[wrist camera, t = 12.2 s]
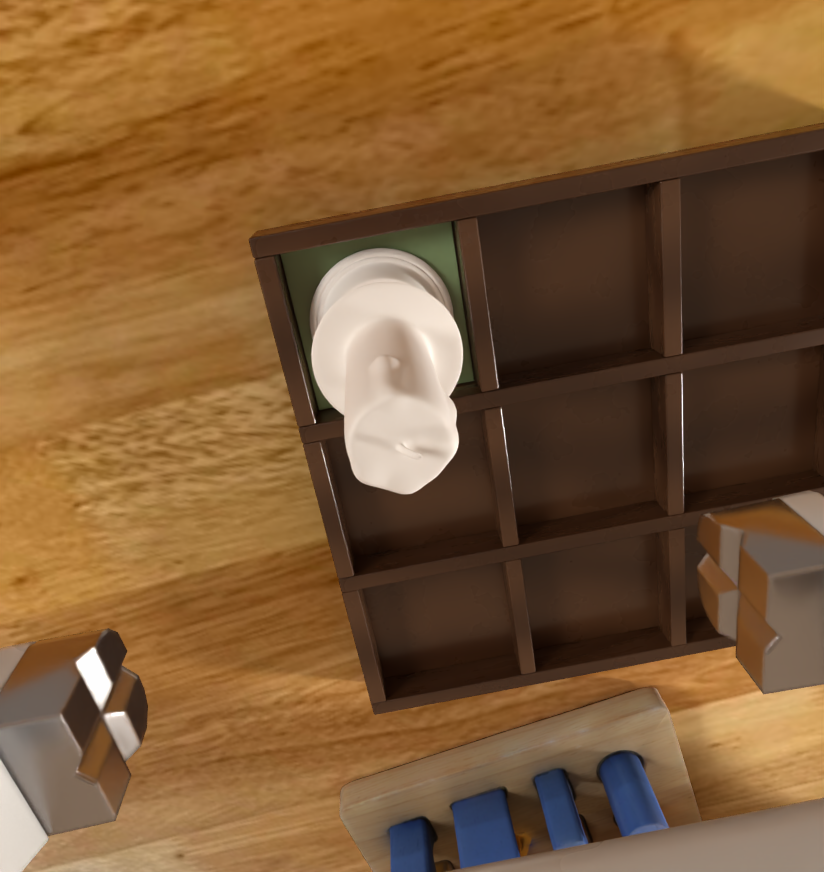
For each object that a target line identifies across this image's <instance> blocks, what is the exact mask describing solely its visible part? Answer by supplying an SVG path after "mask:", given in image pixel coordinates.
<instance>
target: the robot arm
mask: <svg viewBox="0 0 824 872" xmlns="http://www.w3.org/2000/svg"><path fill="white" fill-rule="evenodd" d="M697 541H698V542H699V543H700V545H701V546H702V547H703V548H704V549H705V551H706V552H707V553H706V554H705V556H704V557H703V559H702V560H701V561H700V563H699V564H698V566H697V587H698V591H699V595H700V598H701V602H702V606H703V608H704V610H705V612H706V614H707V616H708V618H709V620H710V622H711V623H712V625H713V626H714V627H715V629H716V630H717V632H718V633H719V634H721V635H723V636H725V637H728V638H730V639H732V640H734V641H736V658H737V659H738V660H739V662H740V663H741V665H742V666H743V667H744V669H745V670H746V671H747V673H748V674H749V675H750V677H751V678H752V679H753V681H754V682H755V683H756V685H757V686H758V687H759V689H760V690H761V691H762V693H763V694H768V693H774V692H780V691H786V690H792V689H798V688H804V687H810V686H816V685H822V684H824V496H823V495H821V494H820V493H818V492H814V491H810V490H808V491H803V492H799V493H794V494H790V495H785V496H781V497H777V498H773V499H772V500H767V501H762V502H758V503H753V504H748V505H743V506H738V507H733V508H728V509H724V510H719V511H714V512H709V513H704V514H700V517H699V520H698V523H697ZM126 653H127V650H126V648H125V646H124V644H123V642H122V640H121V638H120V636H119V634H118V632H116V631H113V630H111V629H109V628H108V629H102V630H97V631H91V632H85V633H79V634H73V635H68V636H62V637H56V638H50V639H44V640H39V641H37V642H28V643H23V644H18V645H12V646H7V647H3V648H1V649H0V872H22V871H23V870H24V868H25V867H26V866H27V865H28V864H29V863H30V861H31V860H32V859H33V858H34V857H35V855H36V854H37V853H38V852H39V851H40V850H41V848H42V847H43V846H44V845H45V844H46V842H47V841H48V840H49V838H48V836H50V835H54V834H59V833H63V832H68V831H72V830H77V829H81V828H85V827H90V826H94V825H99V824H103V823H108V822H112V821H115V820H116V817H117V815H118V812H119V809H120V806H121V803H122V800H123V797H124V794H125V791H126V788H127V786H128V783H129V780H130V777H131V773H130V771H129V769H128V767H127V765H126V763H125V762H126V761H127V760H128V759H129V758H130V757H131V756H132V755H133V753H134V752H135V751H136V750H137V749H138V748H139V747H140V746H141V744H142V741H143V738H144V735H145V732H146V728H147V711H148V705H147V700H146V695H145V690H144V687H143V685H142V683H141V680H140V678H139V676H138V675H137V674H135V673H134V672H132V671H130V670H129V669H127V668H125V667H124V666H122V663H123V660H124V658H125V655H126ZM446 872H824V798H820V799H815V800H810V801H805V802H800V803H794V804H789V805H784V806H779V807H774V808H769V809H764V810H759V811H753V812H748V813H743V814H738V815H733V816H728V817H723V818H718V819H712V820H707V821H702V822H697V823H692V824H687V825H682V826H677V827H671V828H666V829H661V830H656V831H651V832H646V833H641V834H636V835H630V836H625V837H620V838H615V839H610V840H605V841H600V842H595V843H589V844H584V845H579V846H574V847H569V848H564V849H559V850H554V851H548V852H543V853H538V854H533V855H528V856H523V857H518V858H513V859H508V860H503V861H497V862H492V863H487V864H482V865H477V866H472V867H467V868H462V869H457V870H452V871H446Z"/></svg>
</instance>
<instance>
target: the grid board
mask: <svg viewBox="0 0 824 872" xmlns="http://www.w3.org/2000/svg"><path fill="white" fill-rule="evenodd" d="M249 243H250V247H251V251H252V255H253V257H254V258H255V260H254V262H255V266H256V270H257V274H258V277H259V281H260V285H261V289H262V293H263V296H264V300H265V304H266V308H267V311H268V315H269V319H270V323H271V327H272V330H273V334H274V338H275V342H276V345H277V349H278V353H279V357H280V361H281V364H282V368H283V372H284V376H285V379H286V383H287V387H288V391H289V394H290V398H291V402H292V406H293V410H294V413H295V417H296V421H297V425H298V426H299V432H300V436H301V440H302V443H303V447H304V451H305V455H306V459H307V462H308V466H309V470H310V474H311V478H312V481H313V485H314V489H315V493H316V496H317V500H318V504H319V508H320V512H321V515H322V519H323V523H324V527H325V530H326V534H327V538H328V542H329V546H330V549H331V553H332V557H333V561H334V564H335V568H336V572H337V576H338V578H339V584H340V587H341V591H342V595H343V599H344V603H345V607H346V610H347V614H348V618H349V622H350V625H351V629H352V633H353V637H354V640H355V644H356V648H357V652H358V656H359V659H360V663H361V667H362V671H363V674H364V678H365V682H366V686H367V690H368V693H369V697H370V701H371V704H372V708H373V712H374V714H375V715H376V714H381V713H386V712H392V711H397V710H402V709H407V708H413V707H418V706H423V705H428V704H434V703H439V702H444V701H449V700H455V699H460V698H465V697H470V696H476V695H481V694H486V693H491V692H497V691H502V690H507V689H512V688H518V687H523V686H528V685H533V684H539V683H544V682H549V681H554V680H560V679H565V678H570V677H575V676H581V675H586V674H591V673H596V672H602V671H607V670H612V669H617V668H623V667H628V666H633V665H638V664H643V663H649V662H654V661H659V660H664V659H670V658H675V657H680V656H685V655H691V654H696V653H701V652H706V651H712V650H717V649H722V648H727V647H733V646H736V641H734V640H732V639H730V638H728V637H725V636H723V635H721V634H719V633H718V632H717V630H716V629H715V627H714V626H713V625H712V623H711V622H710V620H709V618H708V616H707V614H706V612H705V610H704V608H703V606H702V602H701V598H700V595H699V591H698V587H697V566H698V564H699V563H700V561H701V560H702V559H703V557H704V556H705V554H706V553H707V552H706V551H705V549H704V548H703V547H702V546H701V545H700V543H699V542H698V541H697V523H698V520H699V517H700V514H704V513H709V512H714V511H719V510H724V509H728V508H733V507H738V506H743V505H748V504H753V503H758V502H762V501H767V500H772V499H773V498H777V497H781V496H785V495H790V494H794V493H799V492H803V491H808V490H810V491H814V492H818V493H820V494H821V495H823V496H824V123H820V124H814V125H809V126H804V127H799V128H793V129H788V130H783V131H778V132H773V133H767V134H762V135H757V136H752V137H746V138H741V139H736V140H731V141H726V142H720V143H715V144H710V145H705V146H699V147H694V148H689V149H684V150H678V151H673V152H668V153H663V154H658V155H652V156H647V157H642V158H637V159H631V160H626V161H621V162H616V163H611V164H605V165H600V166H595V167H590V168H584V169H579V170H574V171H569V172H563V173H558V174H553V175H548V176H543V177H537V178H532V179H527V180H522V181H516V182H511V183H506V184H501V185H496V186H490V187H485V188H480V189H475V190H469V191H464V192H459V193H454V194H449V195H443V196H438V197H433V198H428V199H422V200H417V201H412V202H407V203H401V204H396V205H391V206H386V207H381V208H375V209H370V210H365V211H360V212H354V213H349V214H344V215H339V216H334V217H328V218H323V219H318V220H313V221H307V222H302V223H297V224H292V225H286V226H281V227H276V228H271V229H266V230H260V231H257V232H255V234H254V235H253V236H252V237H250V238H249ZM373 248H390V249H397V250H401V251H404V252H407V253H410V254H412V255H414V256H416V257H418V258H419V259H421V260H423V261H424V262H425V263H427V264H428V265H429V266H430V267H431V268H432V269H433V270H434V271H435V272H436V273H437V274H438V275H439V277H440V278H441V279H442V281H443V283H444V284H445V286H446V288H447V290H448V292H449V295H450V298H451V302H452V306H453V314H454V321H455V323H456V325H457V327H458V329H459V332H460V336H461V340H462V346H463V363H462V369H461V373H460V376H459V379H458V382H457V384H456V386H455V388H454V390H453V392H452V393H451V395H450V396H449V398H450V399H451V400H452V401H453V403H454V404H455V407H456V410H457V418H456V428H457V431H458V436H459V445H458V449H457V451H456V453H455V455H454V456H453V458H452V459H451V460H450V462H449V463H448V464H447V465H446V466H445V468H444V469H443V470H442V471H441V473H440V474H439V475H438V476H437V477H436V478H434V479H433V480H432V481H430V482H429V483H427V484H426V485H425V486H423V487H422V488H421V489H419V490H418V491H416V492H414V493H412V494H399V493H395V492H392V491H389V490H385V489H382V488H378V487H373V486H369V485H366V484H364V483H362V482H360V481H359V480H358V479H357V478H356V477H355V475H354V473H353V471H352V468H351V463H350V460H349V457H348V454H347V450H346V445H345V435H344V415H343V414H341V413H340V412H339V411H338V410H336V409H335V408H334V407H333V406H332V405H331V404H330V403H329V402H328V400H327V399H326V398H325V396H324V395H323V393H322V392H321V390H320V388H319V386H318V384H317V382H316V379H315V376H314V372H313V368H312V358H311V352H312V343H313V339H312V335H311V330H310V308H311V303H312V299H313V296H314V293H315V291H316V289H317V287H318V285H319V283H320V281H321V280H322V278H323V277H324V276H325V275H326V273H327V272H328V271H329V270H330V269H331V268H332V267H333V266H334V265H335V264H337V263H338V262H339V261H341V260H342V259H344V258H346V257H347V256H349V255H352V254H354V253H356V252H359V251H363V250H367V249H373Z"/></svg>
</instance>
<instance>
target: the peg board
mask: <svg viewBox="0 0 824 872" xmlns="http://www.w3.org/2000/svg"><path fill="white" fill-rule="evenodd" d="M340 818H341V820H342V822H343V824H344V825H345V827H346V829H347V830H348V832H349V834H350V835H351V837H352V838H353V840H354V842H355V843H356V845H357V847H358V848H359V850H360V851H361V853H362V855H363V856H364V858H365V860H366V861H367V863H368V865H369V866H370V868H371V869H372V871H373V872H446V871H452V870H457V869H462V868H467V867H472V866H477V865H482V864H487V863H492V862H497V861H503V860H508V859H513V858H518V857H523V856H528V855H533V854H538V853H543V852H548V851H554V850H559V849H564V848H569V847H574V846H579V845H584V844H589V843H595V842H600V841H605V840H610V839H615V838H620V837H625V836H630V835H636V834H641V833H646V832H651V831H656V830H661V829H666V828H671V827H677V826H682V825H687V824H692V823H697V822H702V819H701V816H700V813H699V810H698V806H697V803H696V799H695V796H694V793H693V789H692V786H691V782H690V779H689V775H688V772H687V769H686V765H685V762H684V759H683V756H682V753H681V749H680V746H679V742H678V739H677V736H676V732H675V729H674V725H673V722H672V718H671V715H670V712H669V710H668V708H667V706H666V704H665V703H664V701H663V699H662V697H661V696H660V694H659V692H658V691H657V689H656V688H654V687H645V688H640V689H637V690H634V691H631V692H628V693H625V694H622V695H619V696H616V697H613V698H610V699H607V700H604V701H601V702H598V703H594V704H591V705H588V706H585V707H582V708H579V709H576V710H573V711H570V712H566V713H563V714H560V715H557V716H554V717H550V718H547V719H544V720H541V721H538V722H534V723H531V724H528V725H526V726H522V727H519V728H516V729H513V730H509V731H506V732H503V733H500V734H497V735H494V736H491V737H488V738H485V739H482V740H479V741H476V742H473V743H470V744H467V745H463V746H460V747H457V748H454V749H451V750H448V751H445V752H442V753H439V754H436V755H433V756H430V757H427V758H424V759H421V760H417V761H414V762H411V763H408V764H405V765H402V766H399V767H396V768H393V769H390V770H387V771H384V772H381V773H378V774H374V775H371V776H368V777H365V778H362V779H359V780H356V781H353V782H351V783H348V784H346V785H345V786H344V787H343V788H342V790H341V793H340Z"/></svg>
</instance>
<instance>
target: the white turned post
mask: <svg viewBox="0 0 824 872" xmlns="http://www.w3.org/2000/svg"><path fill="white" fill-rule="evenodd" d="M310 330H311V335H312V339H313V343H312V352H311V358H312V368H313V372H314V376H315V379H316V382H317V384H318V386H319V388H320V390H321V392H322V393H323V395H324V396H325V398H326V399H327V400H328V402H329V403H330V404H331V405H332V406H333V407H334V408H335V409H336V410H338V411H339V412H340V413H341V414H343V415H344V435H345V445H346V450H347V454H348V457H349V460H350V463H351V468H352V471H353V473H354V475H355V477H356V478H357V479H358V480H359V481H360V482H362V483H364V484H366V485H369V486H373V487H378V488H382V489H385V490H389V491H392V492H395V493H399V494H412V493H414V492H416V491H418V490H419V489H421V488H422V487H423V486H425V485H426V484H427V483H429V482H430V481H432V480H433V479H434V478H436V477H437V476H438V475H439V474H440V473H441V471H442V470H443V469H444V468H445V466H446V465H447V464H448V463H449V462H450V460H451V459H452V458H453V456H454V455H455V453H456V451H457V449H458V445H459V436H458V431H457V428H456V418H457V410H456V407H455V404H454V403H453V401H452V400H451V399H450V398H449V396H450V395H451V393H452V392H453V390H454V388H455V386H456V384H457V382H458V379H459V376H460V373H461V369H462V363H463V346H462V340H461V336H460V332H459V329H458V327H457V325H456V323H455V321H454V314H453V306H452V302H451V298H450V295H449V292H448V290H447V288H446V286H445V284H444V283H443V281H442V279H441V278H440V277H439V275H438V274H437V273H436V272H435V271H434V270H433V269H432V268H431V267H430V266H429V265H428V264H427V263H425V262H424V261H423V260H421V259H419V258H418V257H416V256H414V255H412V254H410V253H407V252H404V251H401V250H397V249H390V248H373V249H367V250H363V251H359V252H356V253H354V254H352V255H349V256H347V257H346V258H344V259H342V260H341V261H339V262H338V263H337V264H335V265H334V266H333V267H332V268H331V269H330V270H329V271H328V272H327V273H326V275H325V276H324V277H323V278H322V280H321V281H320V283H319V285H318V287H317V289H316V291H315V293H314V296H313V299H312V303H311V308H310Z"/></svg>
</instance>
